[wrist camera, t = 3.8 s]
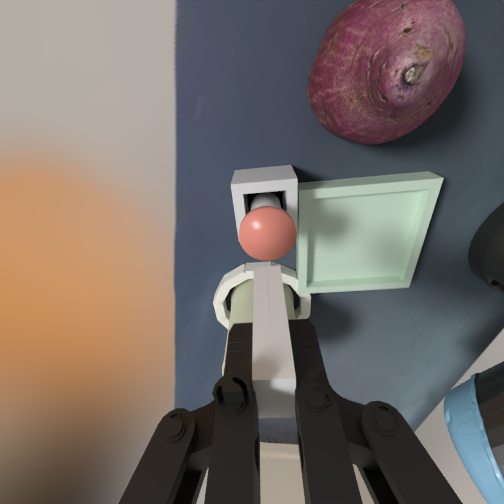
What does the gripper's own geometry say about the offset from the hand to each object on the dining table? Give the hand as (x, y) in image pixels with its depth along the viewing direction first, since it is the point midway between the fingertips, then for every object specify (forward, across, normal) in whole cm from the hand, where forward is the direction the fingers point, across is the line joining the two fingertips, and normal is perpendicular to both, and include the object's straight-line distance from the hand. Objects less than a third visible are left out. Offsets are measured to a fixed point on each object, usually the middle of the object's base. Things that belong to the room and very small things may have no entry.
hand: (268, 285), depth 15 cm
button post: (+16, 0, 0) cm, 16 cm away
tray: (+16, -11, +6) cm, 20 cm away
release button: (+12, 0, 0) cm, 12 cm away
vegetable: (+16, -10, -10) cm, 21 cm away
